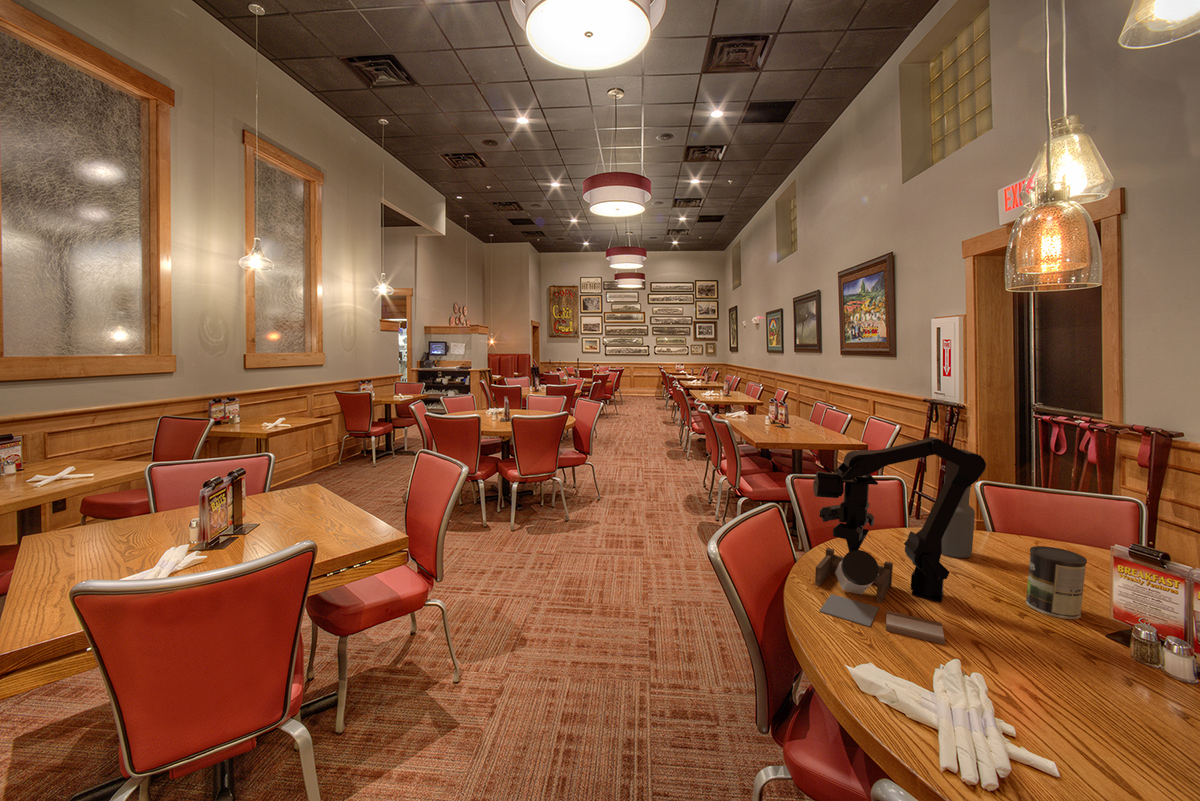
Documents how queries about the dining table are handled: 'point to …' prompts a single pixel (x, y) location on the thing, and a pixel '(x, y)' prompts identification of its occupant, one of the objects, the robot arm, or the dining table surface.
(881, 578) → the brown u-shaped frame
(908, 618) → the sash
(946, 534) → the water bottle
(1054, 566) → the coffee can
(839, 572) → the jar
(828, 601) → the bench mat
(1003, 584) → the dining table surface
